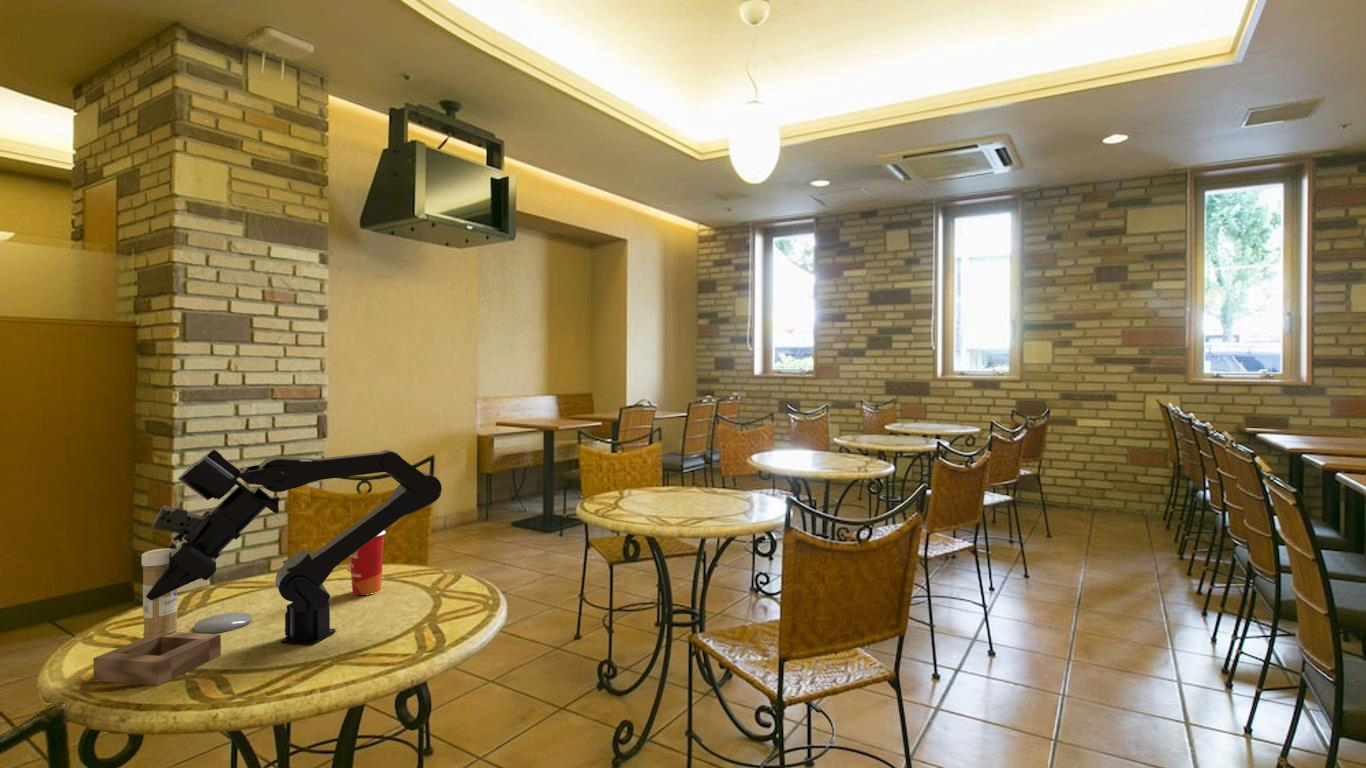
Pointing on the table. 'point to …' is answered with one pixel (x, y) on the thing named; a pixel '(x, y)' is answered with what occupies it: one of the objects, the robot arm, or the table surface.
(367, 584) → the paper cup
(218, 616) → the slate coaster
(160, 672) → the walnut caddy
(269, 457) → the robot arm
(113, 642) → the table surface
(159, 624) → the sprinkles bottle
